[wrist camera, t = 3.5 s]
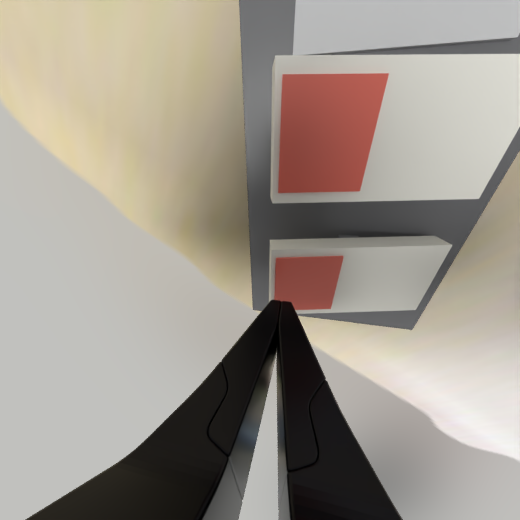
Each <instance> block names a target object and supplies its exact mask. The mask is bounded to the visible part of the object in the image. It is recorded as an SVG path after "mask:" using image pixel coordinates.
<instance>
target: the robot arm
mask: <svg viewBox="0 0 520 520" xmlns="http://www.w3.org/2000/svg"><path fill="white" fill-rule="evenodd" d="M276 352H277V426H278V427H277V432H278V505H279V506H278V507H279V520H403V519H402V518H401V516H400V515H399V513H398V511H397V510H396V508H395V506H394V505H393V503H392V501H391V500H390V498H389V496H388V494H387V492H386V491H385V489H384V488H383V485H382V484H381V482H380V480H379V479H378V477H377V475H376V473H375V471H374V470H373V468H372V466H371V464H370V462H369V461H368V459H367V457H366V456H365V454H364V452H363V450H362V449H361V447H360V445H359V443H358V441H357V440H356V438H355V436H354V435H353V432H352V431H351V429H350V427H349V425H348V423H347V421H346V419H345V418H344V416H343V414H342V412H341V410H340V408H339V406H338V404H337V402H336V400H335V397H334V395H333V393H332V391H331V389H330V387H329V385H328V382H327V381H326V380H325V379H326V378H325V376H324V374H323V371H322V369H321V367H320V365H319V363H318V360H317V358H316V356H315V354H314V351H313V349H312V347H311V344H310V342H309V340H308V338H307V336H306V333H305V331H304V329H303V327H302V324H301V322H300V320H299V318H298V315H297V313H296V311H295V309H294V306H293V304H292V302H289V301H282V302H281V301H280V300H271V301H270V302H269V303H268V304H267V305H266V307H265V308H264V309H263V310H262V312H261V313H260V314H259V315H258V316H257V318H256V319H255V320H254V321H253V323H252V324H251V325H250V326H249V327H248V329H247V330H246V331H245V332H244V334H243V335H242V336H241V337H240V338H239V340H238V341H237V342H236V343H235V345H234V346H233V347H232V348H231V349H230V351H229V352H228V353H227V355H225V357H224V358H223V359H222V362H220V363H219V364H218V365H217V366H216V367H215V369H214V370H213V371H212V372H211V374H210V375H209V376H208V377H207V378H206V379H205V380H204V381H203V383H202V384H201V385H200V386H199V387H198V388H197V389H196V390H195V391H194V392H193V393H192V394H191V395H190V396H189V397H188V398H187V399H186V400H185V402H183V403H182V404H181V405H180V406H179V407H178V408H177V409H176V410H175V411H174V412H173V413H172V414H171V415H170V416H169V417H168V418H167V419H166V420H165V421H164V422H163V423H162V424H161V425H160V426H159V427H158V428H157V429H156V430H155V431H154V432H153V433H152V434H151V435H150V436H149V437H148V438H147V439H146V440H145V441H144V442H143V443H142V444H141V445H140V446H138V447H137V448H136V449H135V450H134V451H133V452H131V453H130V454H129V455H127V456H126V457H125V458H123V459H122V460H121V461H119V462H118V463H116V464H115V465H113V466H112V467H110V468H108V469H107V470H105V471H103V472H102V473H100V474H99V475H97V476H95V477H94V478H92V479H91V480H89V481H87V482H86V483H84V484H83V485H81V486H79V487H78V488H76V489H74V490H73V491H71V492H69V493H68V494H66V495H65V496H63V497H62V498H60V499H58V500H57V501H55V502H53V503H52V504H50V505H48V506H47V507H45V508H44V509H42V510H40V511H39V512H37V513H35V514H34V515H32V516H31V517H29V518H27V519H26V520H238V519H239V514H240V510H241V506H242V500H243V497H244V492H245V488H246V484H247V479H248V475H249V471H250V466H251V462H252V458H253V453H254V449H255V445H256V440H257V436H258V432H259V427H260V423H261V419H262V414H263V410H264V406H265V401H266V397H267V392H268V388H269V384H270V380H271V375H272V371H273V367H274V362H275V358H276Z"/></svg>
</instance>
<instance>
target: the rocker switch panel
mask: <svg viewBox="0 0 520 520" xmlns="http://www.w3.org/2000/svg"><path fill="white" fill-rule="evenodd" d="M239 8H240V31H241V53H242V75H243V98H244V120H245V143H246V165H247V187H248V210H249V232H250V255H251V277H252V299H253V310H258V311H262V310H263V309H264V308H265V307H266V305H267V304H268V303H269V260H270V240H281V239H320V238H360V237H399V236H436V237H438V238H440V239H442V240H444V241H446V242H448V243H450V244H452V247H451V249H450V251H449V252H448V254H447V256H446V258H445V259H444V261H443V263H442V265H441V266H440V268H439V270H438V272H437V273H436V275H435V277H434V279H433V281H432V282H431V284H430V286H429V288H428V289H427V291H426V293H425V295H424V296H423V298H422V300H421V302H420V303H419V305H418V307H417V309H416V310H403V311H372V312H342V313H311V314H297V315H298V316H306V317H314V318H322V319H330V320H338V321H346V322H354V323H362V324H370V325H378V326H386V327H393V328H401V329H409V330H412V329H413V328H414V326H415V324H416V323H417V321H418V319H419V318H420V316H421V314H422V313H423V311H424V309H425V308H426V306H427V304H428V303H429V301H430V299H431V298H432V296H433V294H434V293H435V291H436V289H437V288H438V286H439V284H440V283H441V281H442V279H443V278H444V276H445V274H446V273H447V271H448V269H449V267H450V266H451V264H452V262H453V261H454V259H455V257H456V256H457V254H458V252H459V251H460V249H461V247H462V246H463V244H464V242H465V241H466V239H467V237H468V236H469V234H470V232H471V231H472V229H473V227H474V226H475V224H476V222H477V221H478V219H479V217H480V216H481V214H482V212H483V211H484V209H485V207H486V206H487V204H488V202H489V201H490V199H491V197H492V196H493V194H494V192H495V191H496V189H497V187H498V186H499V184H500V182H501V181H502V179H503V177H504V176H505V174H506V172H507V171H508V169H509V167H510V166H511V164H512V162H513V161H514V159H515V157H516V156H517V154H518V152H519V151H520V127H519V129H518V131H517V132H516V134H515V136H514V138H513V140H512V141H511V143H510V145H509V147H508V148H507V150H506V152H505V154H504V155H503V157H502V159H501V161H500V162H499V164H498V166H497V168H496V169H495V171H494V173H493V175H492V177H491V178H490V180H489V182H488V184H487V185H486V187H485V189H484V191H483V192H482V194H481V196H480V198H479V199H455V200H409V201H363V202H317V203H272V200H271V197H270V192H271V125H272V67H273V63H274V59H275V55H413V54H520V0H239Z"/></svg>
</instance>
